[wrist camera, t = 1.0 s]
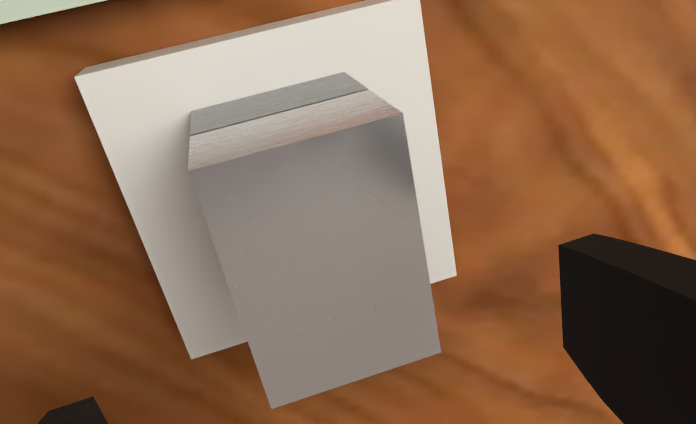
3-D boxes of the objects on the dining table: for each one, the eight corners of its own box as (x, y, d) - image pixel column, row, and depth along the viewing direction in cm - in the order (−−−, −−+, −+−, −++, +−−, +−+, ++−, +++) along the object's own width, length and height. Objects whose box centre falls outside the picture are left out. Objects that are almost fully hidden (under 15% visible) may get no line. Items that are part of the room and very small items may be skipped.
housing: (381, 258, 18) (441, 352, 13) (252, 297, 17) (271, 409, 13) (343, 71, 15) (402, 113, 11) (190, 110, 15) (188, 171, 10)
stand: (439, 254, 20) (456, 275, 19) (191, 331, 19) (191, 359, 18) (400, -9, 16) (419, -7, 15) (85, 67, 15) (74, 77, 14)
